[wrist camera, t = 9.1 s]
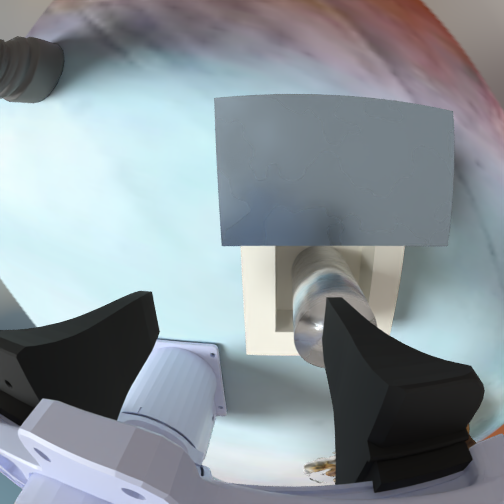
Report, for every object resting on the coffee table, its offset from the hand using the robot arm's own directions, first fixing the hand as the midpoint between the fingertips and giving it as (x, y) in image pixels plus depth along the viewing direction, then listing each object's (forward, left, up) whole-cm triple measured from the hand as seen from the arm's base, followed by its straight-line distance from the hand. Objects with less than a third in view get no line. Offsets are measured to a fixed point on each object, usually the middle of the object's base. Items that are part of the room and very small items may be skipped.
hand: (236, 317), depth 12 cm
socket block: (-2, -4, -10) cm, 11 cm away
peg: (-2, -4, -9) cm, 10 cm away
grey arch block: (+6, -4, -10) cm, 12 cm away
